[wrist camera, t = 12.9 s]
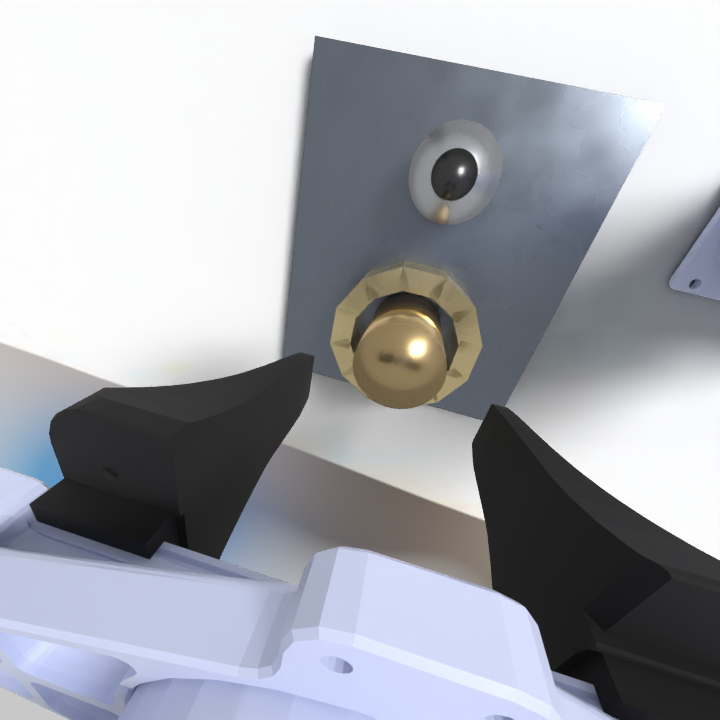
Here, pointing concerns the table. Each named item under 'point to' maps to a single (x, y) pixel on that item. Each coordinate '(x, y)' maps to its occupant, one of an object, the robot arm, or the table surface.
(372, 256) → the fitting plate
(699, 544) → the table surface
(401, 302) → the gold metal knob
